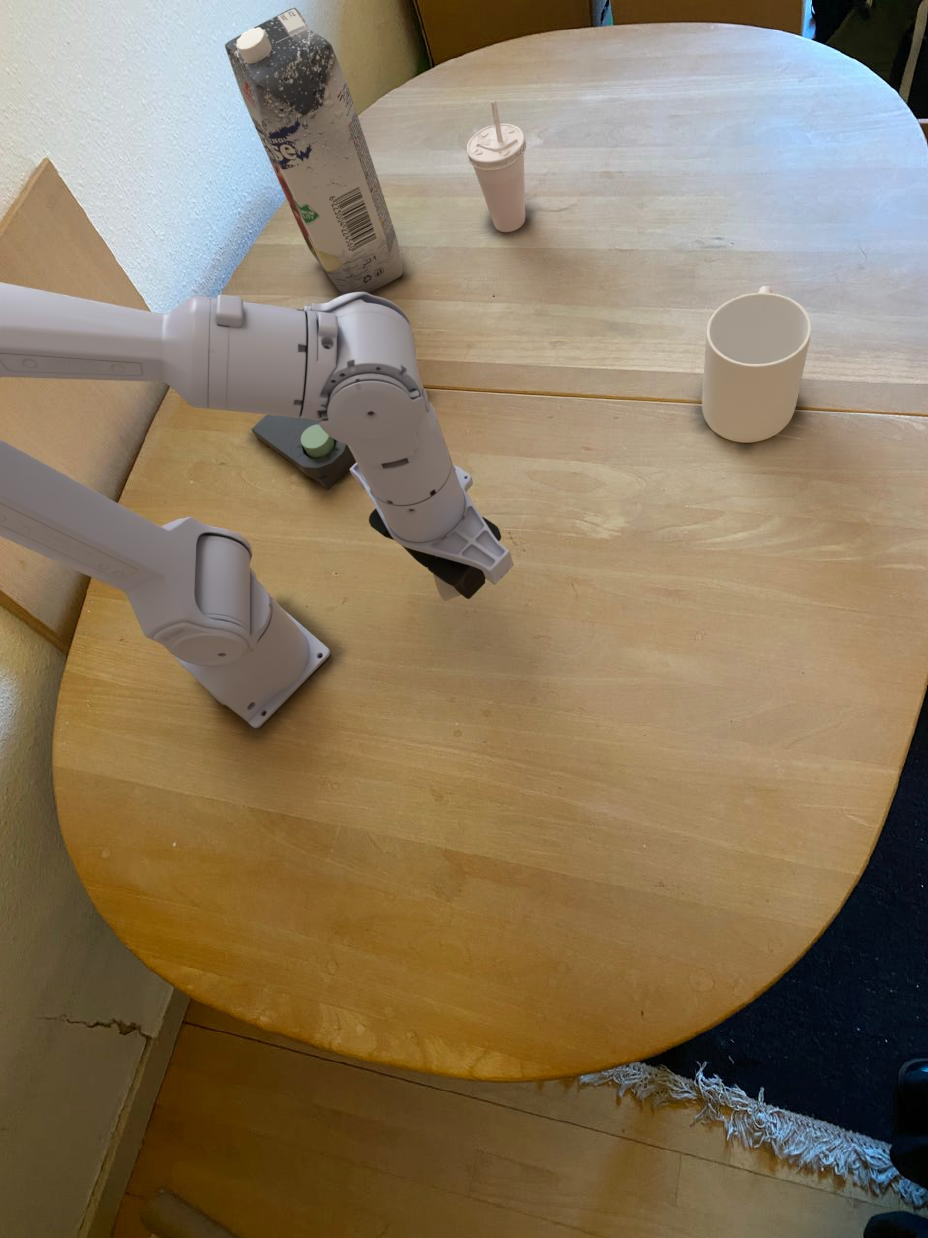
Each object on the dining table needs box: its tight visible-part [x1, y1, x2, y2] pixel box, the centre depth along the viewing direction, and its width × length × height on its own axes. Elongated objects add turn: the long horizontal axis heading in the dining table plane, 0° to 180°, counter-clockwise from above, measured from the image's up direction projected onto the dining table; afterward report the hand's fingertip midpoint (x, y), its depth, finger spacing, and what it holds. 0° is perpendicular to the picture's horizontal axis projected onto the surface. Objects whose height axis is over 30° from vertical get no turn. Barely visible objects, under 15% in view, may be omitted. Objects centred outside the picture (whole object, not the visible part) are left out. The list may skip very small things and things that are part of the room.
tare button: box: [301, 425, 334, 458], centre depth 83 cm, size 3×3×2 cm
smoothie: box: [466, 99, 527, 233], centre depth 90 cm, size 6×6×14 cm
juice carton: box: [224, 7, 404, 296], centre depth 86 cm, size 9×10×27 cm
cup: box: [701, 285, 813, 444], centre depth 74 cm, size 8×12×10 cm
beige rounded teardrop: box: [433, 556, 462, 602], centre depth 67 cm, size 4×5×2 cm
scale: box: [251, 415, 356, 491], centre depth 87 cm, size 14×12×3 cm
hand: (453, 572), depth 67 cm, fingers closed on beige rounded teardrop, 4 cm apart
